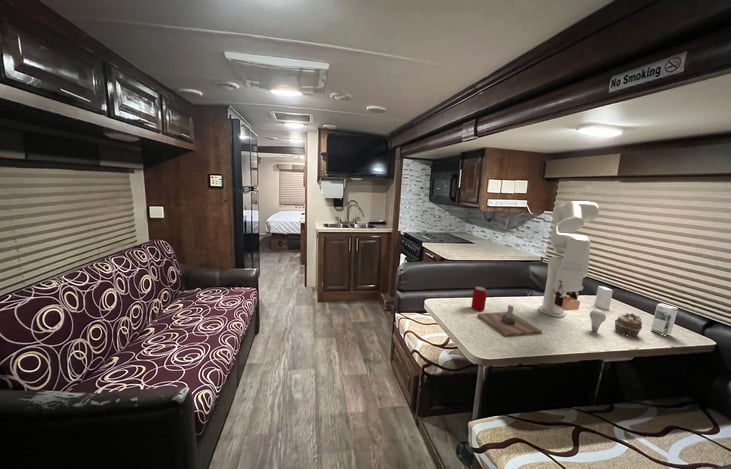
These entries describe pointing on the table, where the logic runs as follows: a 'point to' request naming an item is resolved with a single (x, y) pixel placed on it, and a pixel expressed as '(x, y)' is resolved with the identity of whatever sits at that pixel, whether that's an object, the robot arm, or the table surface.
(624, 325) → the cupcake
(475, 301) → the beverage can
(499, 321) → the post stand
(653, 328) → the syrup box
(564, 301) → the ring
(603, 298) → the skincare box
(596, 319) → the lightbulb
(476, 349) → the table surface
